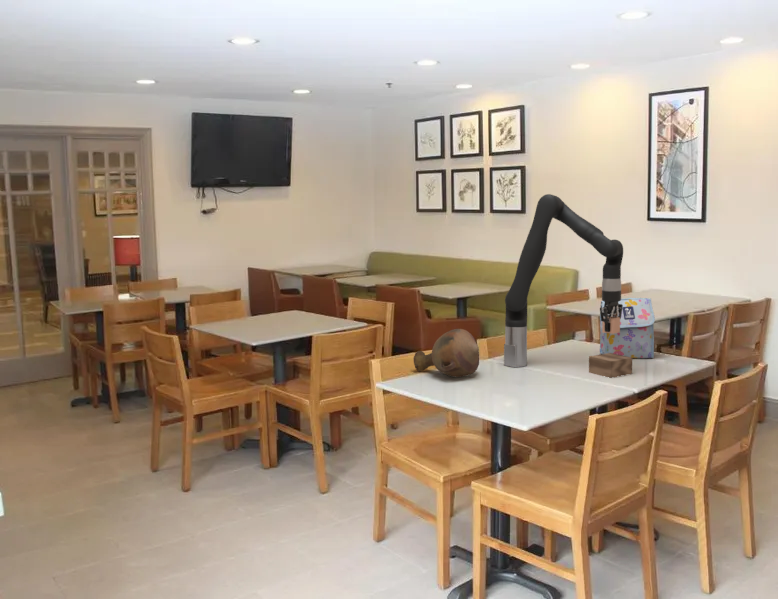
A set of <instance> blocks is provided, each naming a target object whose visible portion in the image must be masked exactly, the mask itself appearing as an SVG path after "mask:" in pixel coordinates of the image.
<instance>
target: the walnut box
mask: <svg viewBox="0 0 778 599" xmlns="http://www.w3.org/2000/svg"><path fill="white" fill-rule="evenodd" d="M588 373H590V374H593V375H597V376H600V377H601V376H602V377H604V376H605V378H608V377H609V379H613V378H612V377H614V378H618V377H617V376H619V377H622V376H621V375H624V376H627V375H626V374H630V375H632V374H633V358H631V357H627V356H622V355H617V354H613V353H606V354H601V353H600V354H596V355H591V356H588ZM631 373H632V374H631Z"/></svg>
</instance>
